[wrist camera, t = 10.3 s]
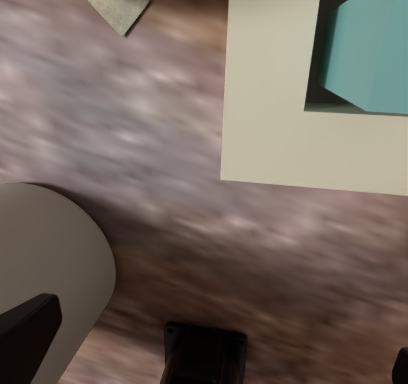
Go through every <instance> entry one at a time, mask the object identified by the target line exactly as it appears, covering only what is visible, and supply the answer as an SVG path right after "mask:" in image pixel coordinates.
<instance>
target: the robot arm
mask: <svg viewBox="0 0 408 384" xmlns="http://www.w3.org/2000/svg"><path fill="white" fill-rule="evenodd" d="M61 323H62V311H61V306H60V301H59V297H58V296H57V295H56V294H51V293H41V294H39V295H37V296H35V297H33V298H31V299H29V300H27V301H25V302H23V303H22V304H20V305H18V306H16V307H14V308H12V309H10V310H8V311H6V312H4V313H2V314H0V384H31V382H32V380H33V379H34V377H35V375H36V373H37V371H38V369H39V367H40V365H41V363H42V361H43V360H44V358H45V356H46V354H47V352H48V350H49V348H50V346H51V344H52V342H53V340H54V338H55V336H56V334H57V332H58V330H59V328H60V326H61ZM170 328H171V329H170ZM247 342H248V338H247V336H246V335H245V334H243V333H238V332H232V331H225V330H219V329H213V328H206V327H200V326H194V325H187V324H181V323H174V322H168V323H167V324H166V325H165V328H164V343H165V369H164V372H163V375H162V378H161V381H160V384H243V380H244V371H245V361H246V352H247ZM392 381H393V384H408V348H407V347H403V348H401V349H400V351H399V353H398V356H397V359H396V362H395V364H394V367H393V370H392Z"/></svg>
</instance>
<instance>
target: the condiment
mask: <svg viewBox="0 0 408 384" xmlns="http://www.w3.org/2000/svg"><path fill="white" fill-rule="evenodd" d="M88 1H89V2H90V3H91V4H92V6H93V7H94V8H95V9H96V10H97V11H98V12H99V13H100V14H101V16H102V17H103V18H104V19H105V20H106V21H107V22H108V23H109V24H110V25H111V26H112V27H113V28H114V29H115V30H116V31H117V33H118V34H119V35H120V36H121V37H123V35H124V34H125V33H126V31H127V30H128V29H129V27H130V26H131V25H132V24H133V22H134V21H135V20H136V18H137V17H138V16H139V15H140V13H141V12H142V11H143V10H144V8H145V7H146V5H147V4H148V2H149V1H150V0H88Z"/></svg>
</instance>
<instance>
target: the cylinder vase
mask: <svg viewBox="0 0 408 384" xmlns="http://www.w3.org/2000/svg"><path fill="white" fill-rule="evenodd" d="M115 281H116V268H115V261H114V257H113V253H112V250H111V248H110V245H109V243H108V241H107V239H106V237H105V236H104V234H103V232H102V231H101V229H100V228H99V226H98V225H97V224H96V223H95V221H94V220H93V219H92V218H91V217H90V216H89V215H88V214H87V213H86V212H85V211H84V210H83V209H82V208H80V207H79V206H78V205H77V204H75V203H74V202H72V201H71V200H69V199H68V198H66V197H64V196H63V195H61V194H59V193H57V192H54V191H52V190H50V189H47V188H44V187H41V186H37V185H32V184H26V183H7V184H1V185H0V314H2V313H4V312H6V311H8V310H10V309H12V308H14V307H16V306H18V305H20V304H22V303H23V302H25V301H27V300H29V299H31V298H33V297H35V296H37V295H39V294H41V293H51V294H56V295H57V296H58V297H59V301H60V306H61V311H62V323H61V326H60V328H59V330H58V332H57V334H56V336H55V338H54V340H53V342H52V344H51V346H50V348H49V350H48V352H47V354H46V356H45V358H44V360H43V361H42V363H41V365H40V367H39V369H38V371H37V373H36V375H35V377H34V379H33V380H32V382H31V384H57V382H58V380H59V379H60V377H61V376H62V374H63V373H64V371H65V370H66V368H67V366H68V365H69V363H70V362H71V360H72V359H73V357H74V355H75V354H76V352H77V351H78V349H79V348H80V346H81V344H82V343H83V341H84V340H85V338H86V337H87V335H88V334H89V332H90V330H91V329H92V327H93V326H94V324H95V323H96V321H97V319H98V318H99V316H100V315H101V313H102V312H103V310H104V309H105V307H106V305H107V304H108V302H109V300H110V298H111V296H112V294H113V291H114V287H115Z"/></svg>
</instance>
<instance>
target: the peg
mask: <svg viewBox="0 0 408 384" xmlns="http://www.w3.org/2000/svg"><path fill="white" fill-rule="evenodd" d="M317 84H318V85H320V86H322V87H324V88H326V89H327V90H329V91H331V92H333V93H335V94H336V95H338V96H340V97H342V98H344V99H345V100H347V101H349V102H351V103H353V104H354V105H356V106H358V107H360V108H361V109H363V110H365V111H370V112H385V113H400V114H408V0H347V1H346V2H344V3H343V4H341V5H340V6H339V7H337V8H336V9H334V10H333V11H331V12H330V13H329V17H328V23H327V29H326V35H325V40H324V46H323V52H322V58H321V64H320V70H319V75H318V81H317Z"/></svg>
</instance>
